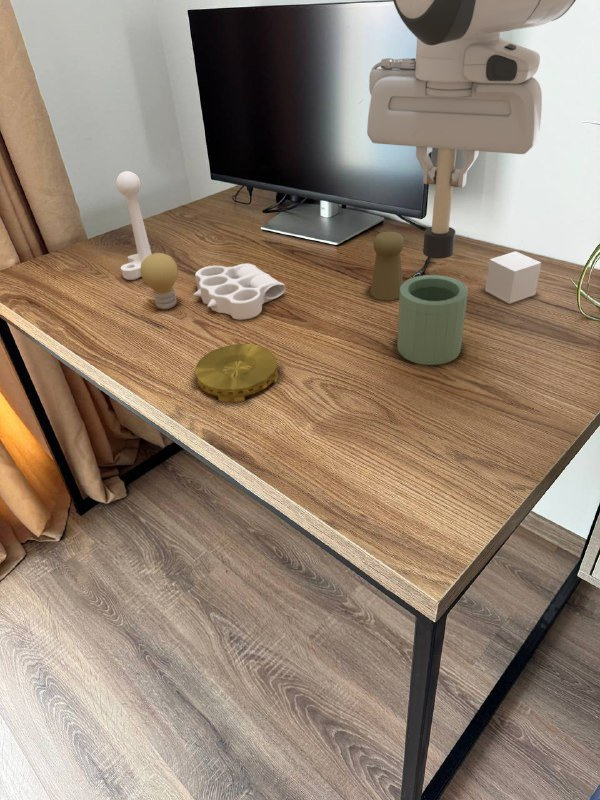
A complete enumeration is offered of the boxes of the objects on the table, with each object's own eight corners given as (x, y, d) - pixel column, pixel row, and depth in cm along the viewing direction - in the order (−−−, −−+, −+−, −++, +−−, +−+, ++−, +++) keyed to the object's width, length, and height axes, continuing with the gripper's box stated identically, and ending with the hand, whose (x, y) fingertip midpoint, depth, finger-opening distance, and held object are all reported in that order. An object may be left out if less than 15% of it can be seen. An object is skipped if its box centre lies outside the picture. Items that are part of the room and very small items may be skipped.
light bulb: (165, 295, 111) (154, 245, 105) (191, 302, 108) (181, 250, 102) (142, 310, 107) (129, 258, 101) (168, 317, 104) (156, 264, 98)
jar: (468, 339, 92) (475, 281, 86) (449, 370, 86) (456, 310, 80) (410, 327, 96) (413, 270, 90) (387, 356, 90) (390, 297, 84)
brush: (456, 249, 80) (469, 131, 71) (448, 260, 77) (460, 139, 68) (428, 245, 82) (437, 129, 73) (418, 256, 79) (427, 137, 70)
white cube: (510, 282, 107) (515, 251, 103) (535, 294, 102) (541, 262, 99) (484, 290, 105) (489, 259, 101) (509, 303, 100) (514, 271, 97)
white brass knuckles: (295, 302, 106) (224, 328, 100) (246, 270, 118) (180, 291, 112) (294, 285, 104) (221, 311, 97) (244, 254, 116) (177, 275, 110)
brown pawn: (364, 290, 108) (364, 232, 101) (392, 282, 110) (394, 225, 103) (381, 303, 103) (382, 243, 97) (410, 295, 105) (413, 235, 99)
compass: (294, 375, 87) (293, 363, 86) (230, 412, 81) (228, 400, 79) (243, 347, 94) (242, 335, 93) (181, 379, 88) (179, 367, 87)
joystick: (168, 278, 117) (147, 175, 105) (132, 289, 114) (106, 184, 102) (150, 260, 125) (127, 163, 113) (115, 270, 122) (89, 171, 110)
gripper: (359, 62, 68) (358, 183, 76) (544, 64, 59) (521, 201, 68) (380, 54, 72) (377, 170, 80) (555, 55, 64) (532, 184, 72)
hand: (444, 184), depth 74 cm, fingers closed on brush, 2 cm apart
